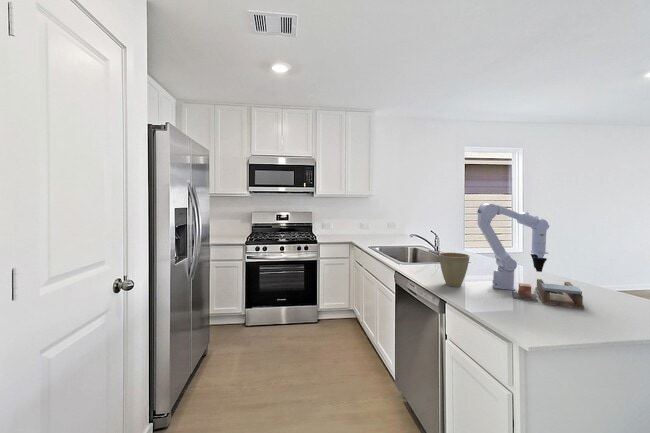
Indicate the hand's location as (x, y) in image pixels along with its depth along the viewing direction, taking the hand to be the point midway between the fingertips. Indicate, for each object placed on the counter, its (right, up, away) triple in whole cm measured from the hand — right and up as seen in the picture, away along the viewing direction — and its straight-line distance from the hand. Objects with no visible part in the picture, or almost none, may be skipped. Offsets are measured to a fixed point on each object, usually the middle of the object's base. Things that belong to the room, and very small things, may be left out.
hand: (537, 269), depth 155 cm
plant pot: (-39, -10, +8) cm, 41 cm away
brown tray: (-1, -10, -14) cm, 18 cm away
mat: (-14, -10, -12) cm, 21 cm away
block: (-14, -10, -12) cm, 21 cm away
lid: (-4, -5, -20) cm, 21 cm away
